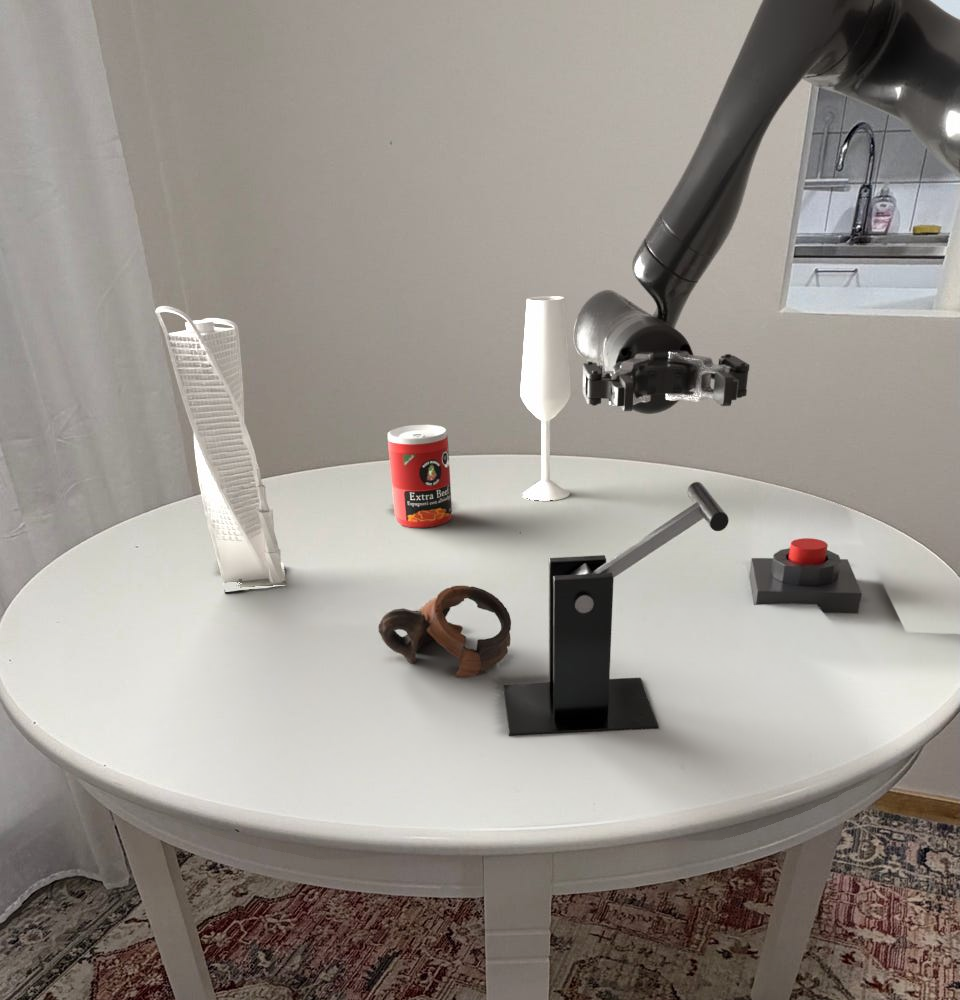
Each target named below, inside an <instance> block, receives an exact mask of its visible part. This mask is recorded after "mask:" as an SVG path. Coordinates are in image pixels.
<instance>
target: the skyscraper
mask: <svg viewBox="0 0 960 1000" xmlns="http://www.w3.org/2000/svg"><path fill="white" fill-rule="evenodd" d="M165 312H166V313H171V314H176V315H177V316H179V317H182V318H183V319H185V320H186V322H184V325H185V329H186V330H180V331H175V332H169V333H168V330H167V327H166V325H165V323H164V320H163V318H162V315H161V314H160V313H165ZM155 316H156V318H157V320H158V322H159V324H160V327H161V330H162V332H163V335H164V338H165V342H166V346H167V349H168V353H169V358H170V362H171V365H172V369H173V372H174V376H175V379H176V383H177V387H178V390H179V393H180V397H181V401H182V403H183V406H184V410H185V412H186V415H187V419H188V421H189V425H190V427H191V429H192V433H193V446H194V447H193V448H194V458H195V465H196V472H197V479H198V485H199V492H200V496H201V500H202V505H203V506H202V507H203V511H204V514H205V519H206V523H207V527H208V531H209V535H210V539H211V543H212V547H213V551H214V554H215V558H216V562H217V566H218V569H219V572H220V576H221V579H222V583H223V584H224V583H227V582H237V583H238V582H240V583H242V584H240V583H239V584H240V585H238V587H239V586H240V588H242V587H255V586H273V585H287V578H285V577H286V571H285V570H284V569H285V563H284V562H282V557H281V555H282V554H281V550H282V549H280V548H279V544H278V540H277V536H276V533H275V523H274V510H273V509H270V507H269V505H268V500H267V492H266V491H267V490H266V485H265V484H263V480H262V475H261V468H259V464H258V459H257V456H256V452H255V448H254V446H253V443H252V439H251V436H250V433H249V430H248V428H247V425H246V422H245V394H244V393H245V392H244V391H245V390H244V377H243V375H244V374H243V364H242V354H241V342H240V331H239V327H238V324H237V323H236V322H235V321H233V320H230V319H225V318H218V317H206V318H203V319H196V320H193V319H192V318H191V317H190V316H189V315H188V314H187V313H186V312H185V311H182V310H181V309H179V308H176V307H173V306H168V305H161V306H158V307H156V309H155ZM215 324H219V325H225V326H230V327H216V326H215ZM236 586H237V585H236Z"/></svg>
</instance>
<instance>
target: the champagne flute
mask: <svg viewBox="0 0 960 1000" xmlns="http://www.w3.org/2000/svg"><path fill="white" fill-rule="evenodd" d="M565 302H566V300H565V297H564V296H559V295H557V296H556V295H544V296H542V295H541V296H534V297H533V296H532V297H528V298H527V299H526V307H525V321H524V322H525V323H524V334H523V335H524V336H523V351H522V352H523V353H522V366H521V380H520V394H519V395H520V398H521V400H522V402H523V404H524V405H525V407H526V408H527V410H528V411H530V412H531V414H532V415H533V416H535V418H537V420H540V422H541V425H540V426H541V427H540V429H541V433H540V434H541V435H540V437H541V439H540V441H541V442H540V443H541V447H540V449H541V454H540V455H541V479H540V481H538V482H537V483H536V484H534V485H532V486H531V487H529V488H528V489H527V490H525V491H523V492H522V494H523V496H522V498H524V499H526V498H528V499H527V500H529V499H530V500H529V501H534V500H539V501H538V502H551V501H550V500H553V501H559V500H562V499H565V498H567V497H569V496H570V491H568V490H567V489H565V488H564V487H562V486H561V485H558V484H557V483H556V482H554V481H552V480H551V420H553V419H554V418H555V417H557V415H558V414H559V413H561V411H562V410H564V408H565V407H566V405H567V403H568V401H569V399H570V397H571V394H572V389H571V388H572V387H571V373H570V358H569V345H568V344H569V343H568V329H567V314H566V303H565Z"/></svg>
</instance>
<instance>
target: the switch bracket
mask: <svg viewBox="0 0 960 1000" xmlns="http://www.w3.org/2000/svg"><path fill="white" fill-rule="evenodd" d="M606 562H607V557H606V555H604V554H602V555H581V556H563V557H562V556H561V557H560V556H559V557H549V558H548V681H545V682H544V681H543V682H541V681H540V682H525V683H523V682H522V683H505V684H503V693H504V703H505V715H506V723H507V724H506V725H507V732H508V733H507V734H508V736H509V737H518V736H519V737H520V736H521V737H522V736H540V735H560V734H579V733H581V734H583V733H599V732H601V733H602V732H618V731H619V732H620V731H621V732H622V731H638V730H640V731H641V730H658V729H660V727H659V723H658V721H657V717H656V715H655V713H654V710H653V707H652V704H651V702H650V699H649V696H648V694H647V691H646V689H645V686H644V682H643V680H642V678H641V677H625V678H624V677H621V678H610V675H611V652H612V649H611V648H612V630H613V629H612V625H613V603H614V601H613V599H614V580H615V579H614V578H615V577H614V578H613V575H612V573H599V574H579V575H568V574H570V573H571V572H573V571H574V570H576V569H577V568H579V567H580V566H582V565H583V564H585V563H586V564H587V565H588V567H589V569H590V570H591V572H593V571H594V570H596V569H597V568H599V567H600V566H602V565H603V564H605V563H606Z"/></svg>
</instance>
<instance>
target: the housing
mask: <svg viewBox="0 0 960 1000" xmlns="http://www.w3.org/2000/svg"><path fill="white" fill-rule="evenodd" d="M789 551H790V547H789V548H783V549H780V550H778V551H776V552H775V553H773V555H772V557H752V558H751V561H750V567H749V568H750V569H749V575H748V576H749V577H748V578H749V583H750V589H751V597H752V602H753V605H754V606H762V605H763V606H764V605H782V604H783V605H784V604H785V605H789V604H790V605H816V606H817V607H818V608H819V610H820V611H821V612H822V613H823V614H859V611H860V605H861V601H862V596H863V593H862V590H861V588H860V585H859V583H858V581H857V579H856V576H855V573H854V571H853V568H852V565H851V564H850V561H849V559H848V558H841V557H840V555H839V554H837V553H836V552H833V551H831V550H829V549H827V552H826V558H825V562H824V563H821V564H816V565H812V564H799V563H794V562H791V561H789V560H788V558H789Z"/></svg>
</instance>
